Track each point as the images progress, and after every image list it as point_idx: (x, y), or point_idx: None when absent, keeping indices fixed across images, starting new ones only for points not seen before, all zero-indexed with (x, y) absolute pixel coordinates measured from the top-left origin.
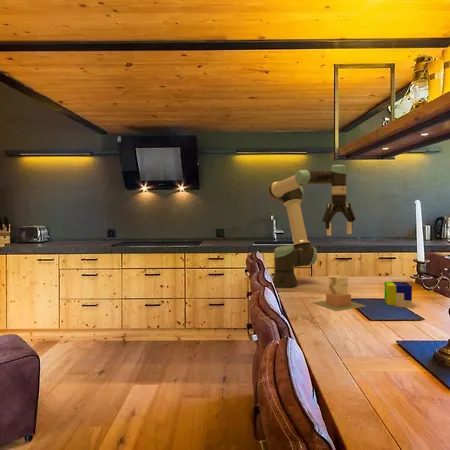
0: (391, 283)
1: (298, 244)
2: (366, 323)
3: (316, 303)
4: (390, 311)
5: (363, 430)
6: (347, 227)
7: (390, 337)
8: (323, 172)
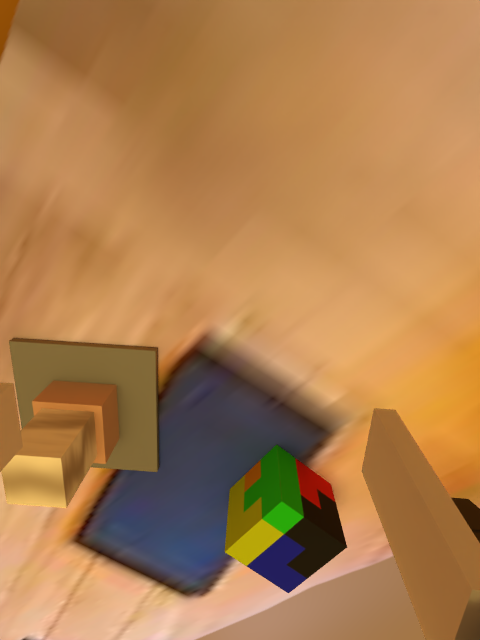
0: (270, 535)
1: None
2: (48, 552)
3: (22, 360)
4: (191, 519)
5: None
6: (408, 490)
7: (28, 624)
8: None
